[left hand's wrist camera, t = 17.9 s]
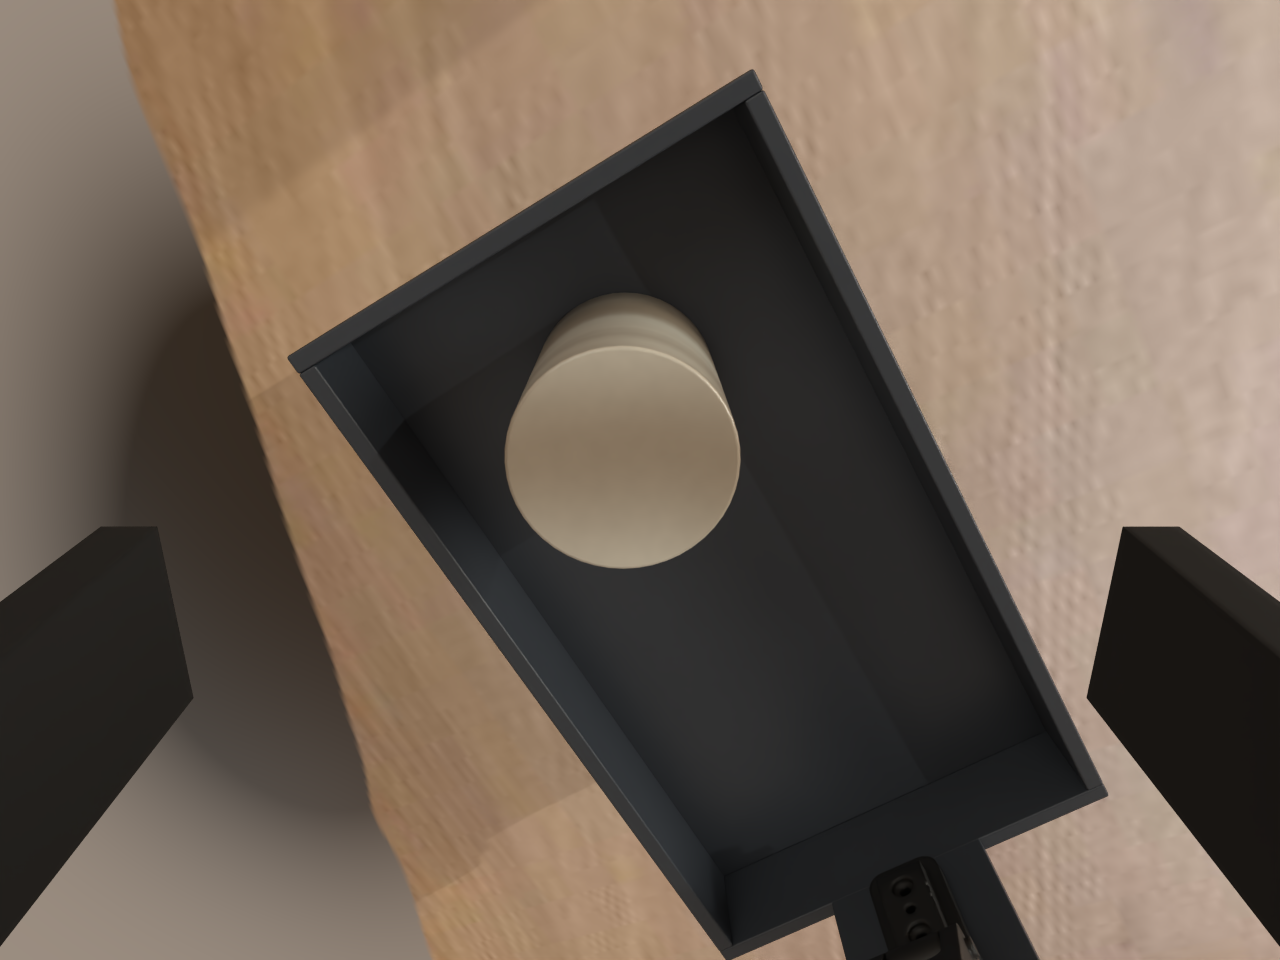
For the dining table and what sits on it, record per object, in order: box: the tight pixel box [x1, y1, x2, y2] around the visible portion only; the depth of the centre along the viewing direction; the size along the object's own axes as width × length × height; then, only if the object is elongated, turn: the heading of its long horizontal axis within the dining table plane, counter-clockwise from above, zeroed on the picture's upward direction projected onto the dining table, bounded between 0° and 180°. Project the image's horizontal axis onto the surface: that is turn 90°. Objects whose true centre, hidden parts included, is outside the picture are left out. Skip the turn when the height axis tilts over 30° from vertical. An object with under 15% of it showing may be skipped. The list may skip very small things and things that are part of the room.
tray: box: [288, 69, 1108, 960], centre depth 24 cm, size 23×13×9 cm, turn 30°
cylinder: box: [505, 293, 741, 569], centre depth 22 cm, size 5×5×7 cm
